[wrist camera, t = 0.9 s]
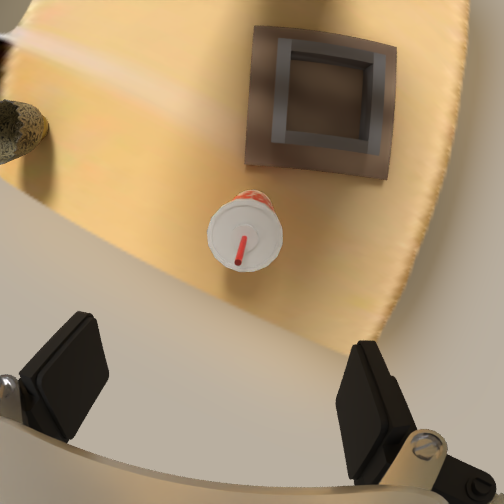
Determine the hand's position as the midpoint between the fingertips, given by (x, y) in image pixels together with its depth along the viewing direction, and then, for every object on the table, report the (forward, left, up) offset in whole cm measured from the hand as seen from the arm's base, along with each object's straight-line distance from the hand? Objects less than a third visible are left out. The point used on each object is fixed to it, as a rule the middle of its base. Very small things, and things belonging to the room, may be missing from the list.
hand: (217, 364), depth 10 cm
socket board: (-12, +6, -24) cm, 28 cm away
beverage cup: (+1, 0, -25) cm, 25 cm away
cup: (-9, -28, -25) cm, 39 cm away
